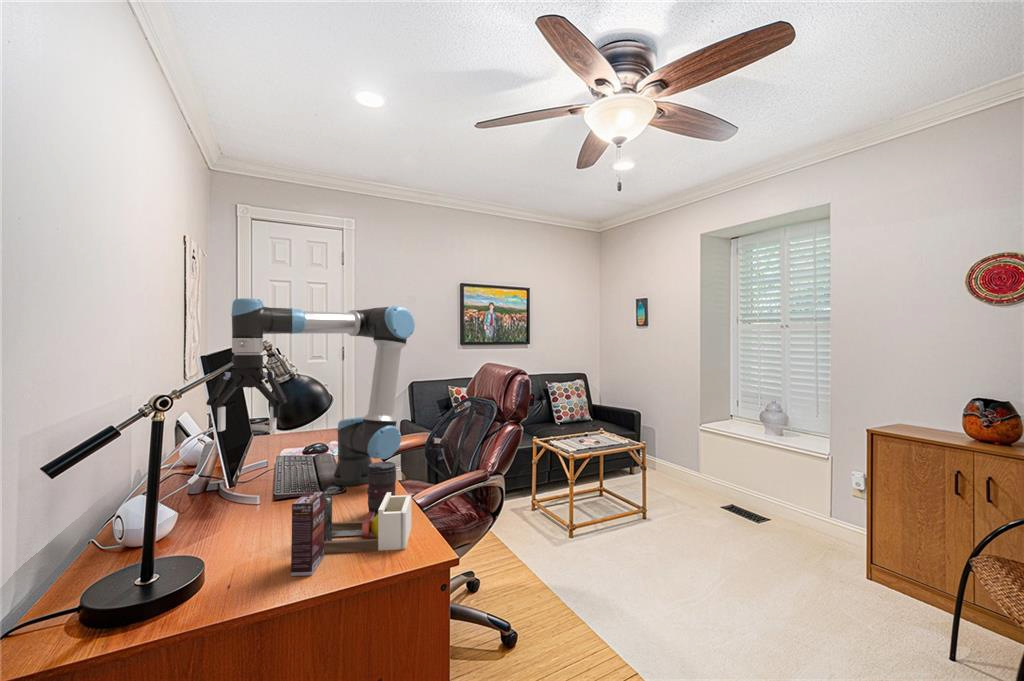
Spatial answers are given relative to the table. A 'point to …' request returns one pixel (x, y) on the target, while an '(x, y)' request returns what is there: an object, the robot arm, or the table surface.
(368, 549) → the rails
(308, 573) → the supplement box
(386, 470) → the camera lens
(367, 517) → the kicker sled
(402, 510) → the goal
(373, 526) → the tennis ball
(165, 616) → the table surface
